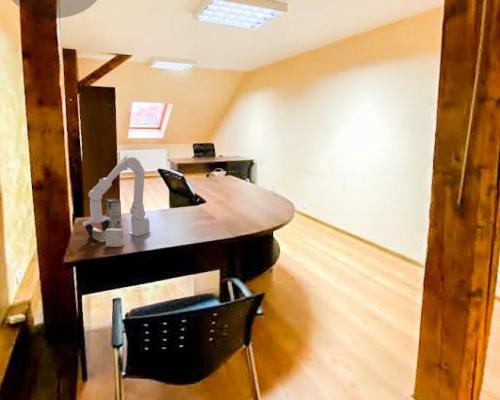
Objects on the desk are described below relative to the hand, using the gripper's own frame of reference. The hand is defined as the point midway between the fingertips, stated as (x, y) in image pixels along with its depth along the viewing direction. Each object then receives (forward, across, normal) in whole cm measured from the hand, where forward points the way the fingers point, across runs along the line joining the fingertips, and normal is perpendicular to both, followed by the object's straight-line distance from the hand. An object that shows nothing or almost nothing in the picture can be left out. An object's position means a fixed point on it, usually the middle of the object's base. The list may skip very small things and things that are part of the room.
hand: (97, 236), depth 198 cm
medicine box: (+2, 0, +16) cm, 16 cm away
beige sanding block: (+2, 0, 0) cm, 2 cm away
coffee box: (+2, -19, -15) cm, 24 cm away
